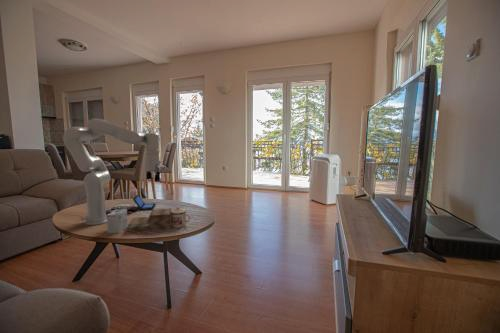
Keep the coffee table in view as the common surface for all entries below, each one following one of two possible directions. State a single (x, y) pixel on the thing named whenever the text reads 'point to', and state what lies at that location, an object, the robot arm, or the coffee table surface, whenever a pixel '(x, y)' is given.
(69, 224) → the coffee table surface
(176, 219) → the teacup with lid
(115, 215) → the light bulb box
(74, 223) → the coffee table surface
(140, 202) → the handheld game console
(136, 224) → the step stand
